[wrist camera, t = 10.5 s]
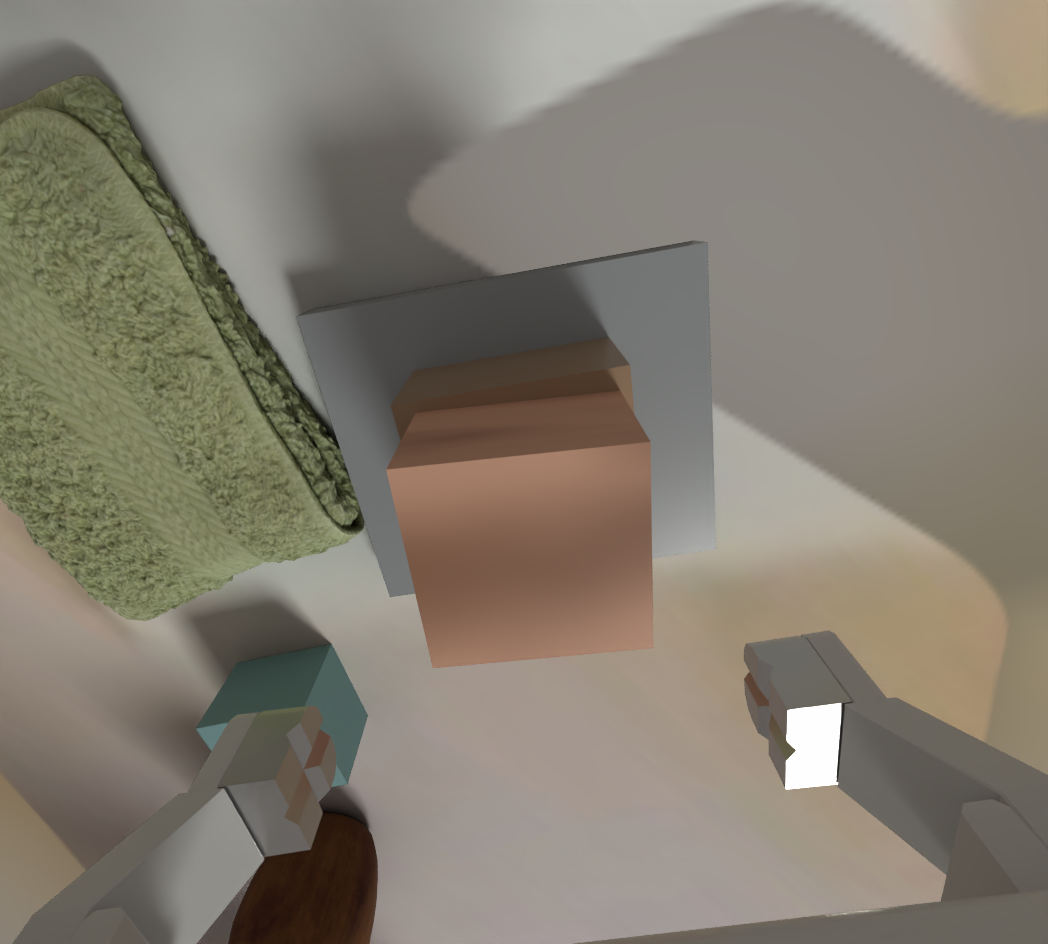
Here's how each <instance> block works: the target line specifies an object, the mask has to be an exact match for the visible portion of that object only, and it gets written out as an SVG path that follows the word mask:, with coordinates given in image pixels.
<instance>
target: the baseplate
mask: <svg viewBox="0 0 1048 944" xmlns="http://www.w3.org/2000/svg"><path fill="white" fill-rule="evenodd" d="M709 314H710V312H709V276H708V243H707V242H701V241H689V242H683V243H678V244H673V245H667V246H661V247H656V248H650V249H645V250H639V251H634V252H628V253H623V254H618V255H612V256H606V257H601V258H595V259H590V260H584V261H578V262H573V263H567V264H562V265H556V266H551V267H545V268H540V269H534V270H529V271H523V272H518V273H512V274H507V275H501V276H496V277H490V278H485V279H479V280H474V281H468V282H462V283H457V284H451V285H446V286H440V287H435V288H429V289H424V290H418V291H413V292H407V293H402V294H396V295H391V296H385V297H380V298H374V299H369V300H363V301H358V302H352V303H346V304H341V305H335V306H330V307H324V308H319V309H313V310H310V311H307V312H305V313H303V314H301V315H299V316H296V319H297V322H298V325H299V328H300V331H301V334H302V336H303V339H304V342H305V345H306V348H307V351H308V354H309V357H310V360H311V363H312V366H313V369H314V372H315V375H316V378H317V381H318V384H319V387H320V390H321V393H322V396H323V399H324V402H325V405H326V408H327V411H328V414H329V417H330V420H331V423H332V426H333V429H334V432H335V435H336V438H337V441H338V444H339V447H340V450H341V453H342V456H343V459H344V461H345V464H346V467H347V470H348V473H349V476H350V479H351V482H352V485H353V488H354V491H355V494H356V497H357V500H358V503H359V506H360V509H361V512H362V515H363V518H364V521H365V524H366V527H367V530H368V533H369V536H370V539H371V542H372V545H373V548H374V551H375V554H376V557H377V560H378V563H379V566H380V569H381V572H382V575H383V578H384V581H385V584H386V586H387V589H388V592H389V595H390V597H394V596H401V595H408V594H415V590H414V586H413V581H412V577H411V573H410V569H409V564H408V560H407V556H406V552H405V548H404V543H403V539H402V535H401V531H400V526H399V522H398V518H397V514H396V509H395V505H394V501H393V497H392V493H391V488H390V484H389V480H388V476H387V471H386V469H387V467H388V465H389V463H390V461H391V459H392V457H393V455H394V453H395V451H396V450H397V448H398V446H399V444H400V442H401V440H402V438H403V436H404V434H405V432H406V430H407V428H408V426H409V424H410V423H411V421H412V419H413V417H414V415H415V413H418V412H427V411H436V410H446V409H455V408H464V407H473V406H482V405H492V404H501V403H510V402H519V401H529V400H538V399H547V398H556V397H565V396H575V395H584V394H593V393H602V392H612V391H621V393H622V394H623V396H624V398H625V399H626V401H627V403H628V404H629V406H630V408H631V410H632V411H633V413H634V415H635V416H636V418H637V420H638V421H639V423H640V425H641V426H642V428H643V430H644V432H645V433H646V435H647V437H648V438H649V440H650V442H651V508H652V559H653V558H660V557H667V556H673V555H680V554H687V553H694V552H701V551H707V550H714V549H716V534H715V497H714V460H713V423H712V388H711V349H710V315H709Z"/></svg>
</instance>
